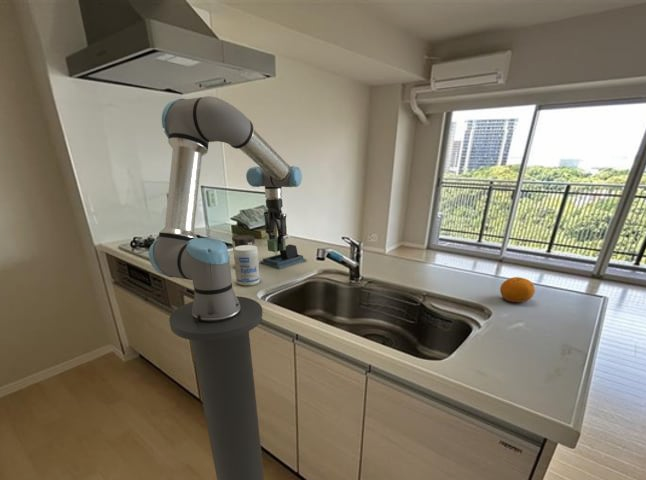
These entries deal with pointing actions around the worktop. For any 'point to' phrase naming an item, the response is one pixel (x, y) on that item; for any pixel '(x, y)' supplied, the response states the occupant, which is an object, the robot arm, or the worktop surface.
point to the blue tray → (282, 261)
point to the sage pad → (274, 245)
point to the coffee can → (242, 240)
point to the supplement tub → (246, 265)
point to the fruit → (517, 289)
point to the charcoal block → (289, 252)
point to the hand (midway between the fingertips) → (276, 249)
